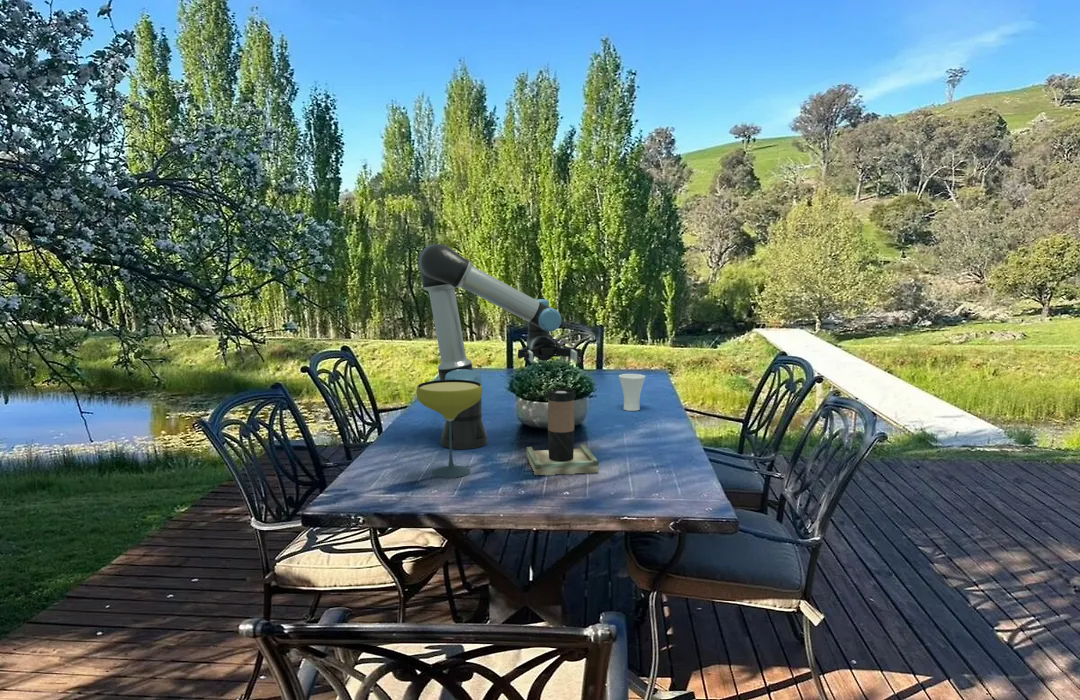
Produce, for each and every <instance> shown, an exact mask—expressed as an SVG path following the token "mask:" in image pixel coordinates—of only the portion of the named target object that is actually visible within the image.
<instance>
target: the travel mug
mask: <svg viewBox="0 0 1080 700" xmlns="http://www.w3.org/2000/svg"><path fill="white" fill-rule="evenodd" d="M547 392H548V395H547V401H548V402H547V437H548V438H547V441H548V450H549V459H550V460H553V461H558V462H564V461H570V460H572V459H573V453H574V449H575V448H574V447H575V445H574V444H575V391H574V389H570V388H563V387H562V388H561V387H560V388H556V389H555V390H552V389H549V390H548V391H547Z"/></svg>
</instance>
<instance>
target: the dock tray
mask: <svg viewBox="0 0 1080 700" xmlns="http://www.w3.org/2000/svg"><path fill="white" fill-rule="evenodd" d="M527 458H528V459H527ZM526 459H527V461H528V460H529V461H528V463H529V465H531V466H530V467H532V468H531V470H532V469H533V470H532V472H533V471H534V472H533V474H534V476H535V475H545V476H556V475H555V474H565V475H576V474H575V473H585V474H599V473H598V472H599V470H600V469H599V468H600V467H599V466H600V465H599V463H600V462H599V460H598V459H597V458H596V456H595V455H594V454H593V452H592V451H591V450H590V449H589V448H588V447H587V445H586V444H579V448H574V453H573V459H572V460H570V461H564V462H558V461H553V460H550V459H549V449H546V450H545V449H543V450H534V449H533V447H532V446H527V447H526ZM595 472H597V473H595Z"/></svg>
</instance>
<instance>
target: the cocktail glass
mask: <svg viewBox="0 0 1080 700" xmlns="http://www.w3.org/2000/svg"><path fill="white" fill-rule="evenodd" d="M482 385H483V384H482ZM482 385H481V384H480V383H478V382H475V381H469V380H440V379H439V380H438V379H437V380H430V381H426V382H422V383H419V384H417V386H416V398H417V400H418V402H419V403H420V404H422V405H423V406H424V407H426V408H429V409H431V410H432V411H434V412H437V413H439V414H440V415H442V417H443V418H444V419H445V421H446V420H447V421H449V448H448V449H449V456H448V457H449V458H448V459H449V460H448V464H447V465H442V466H439V467H435V468H434V469H432V470H431V474H432V475H433V476H434V475H435V476H434V477H436V476H437V478H440V477H443V478H442V479H454V478H453V477H458V478H462V477H461V476H463V477H465V476H464V475H466V476H467V474H468V475H470V473H471V469H470V467H467V466H463V465H455V464H454V461H453V449H452V434H451V421H453V420H454V419H455V417H456V416H457V415H458V414H459V413H460V412H462V411H463V410H465V409H467V408H469V407H471V406H473V405H474V404H476V403H477V402H478V401H479V400H480V399H481V397H483V396H482V395H483V386H482Z"/></svg>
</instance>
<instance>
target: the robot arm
mask: <svg viewBox="0 0 1080 700" xmlns="http://www.w3.org/2000/svg"><path fill="white" fill-rule="evenodd" d="M417 267H418V270H419V272H420V278H421V282H422V287H423V289H424V290H426V291H427V292H428V295H429V300H430V301H429V302H430V306H431V311H432V318H433V323H434V329H435V335H436V341H437V345H438V351H439V357H440V363H439V365H438V366H437V371H438V377H439V380H469V381H475V382H478V383H480V384H481V385H483V381H482V377H481V373H479V372H478V371H477V370H474V368H473V364H472V360H470V359H469V358H467V354H466V349H465V343H464V338H463V330H462V325H461V319H460V318H461V317H460V313H459V308H458V302H457V301H458V300H457V296H456V290H455V289H458V288H463V290H466V291H467V292H470V293H472V294H474V295H476V296H477V297H480V298H481V299H484V300H485V301H488V302H489V303H491V304H493V305H495V306H497V307H499V308H500V309H502V310H505V311H507V312H509V313H511V314H512V315H514V316H517V317H518V318H521V320H524V321H526V322H527V338H526V346H524V348H521V349H517V358H518V359H520V360H521V359H523V361H524V362H528V361H529V362H530V363H534V357H535V358H536V359H538V360H540V361H550V360H551V359H552V358H553V357H555V358H556V357H557V358H558V357H567V358H570V359H571V360H573V361H574V362H577V361H578V358H581V357H582V348H577V346H574V347H570V346H566V345H562V347H561V346H560V345H556V344H555V342H554V341H553V340H552V339H551V338H550V332H555V331H556V330H557V329H559V328H560V326H561V324H562V316H561V314H560V312H559V310H556V309H555V308H553V307H550V302H549V301H550V300H548V299H544V298H533V297H532V296H529V295H528V294H526V293H524V292H522V291H520V290H519V289H516V288H514V287H512V286H511V285H509V284H507V283H505V282H503V281H501V280H499V279H498V278H495V277H494V276H492V275H490V274H488V273H486V272H485V271H482V270H481V269H479V268H477V267H475V266H473V265H472V263H471V261H470V260H469V259H466V258H465V257H463V256H461V254H459V253H457V252H456V251H455V250H453V249H452V248H450V247H449V246H447V245H445V244H440V243H438V244H437V243H436V244H435V243H434V244H431V245H427V246H426V247H423V249H422V250H421V251H420V253H419V255H418V258H417ZM482 397H483V396H482ZM482 397H481V399H480V400H479V401H478V402H477V403H476V404H474V405H473V406H471V407H469V408H467V409H465V410H463V411H462V412H460V413H459V414H458V415H457V416H456V417H455V419H454V420H453V421H451V434H452V450H453V449H454V450H469V449H476V448H477V449H478V448H481V447H484V446H486V445H487V444H488V434H487V431H486V427H485V425H484V421H483V416H482V415H483V413H482V412H483V407H482V405H483V403H482V402H483V401H482ZM440 445H441V446H442V447H445V448H448V449H449V421H447V420H446V419H445V423H444V425H443V428H442V432H441V436H440Z"/></svg>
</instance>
